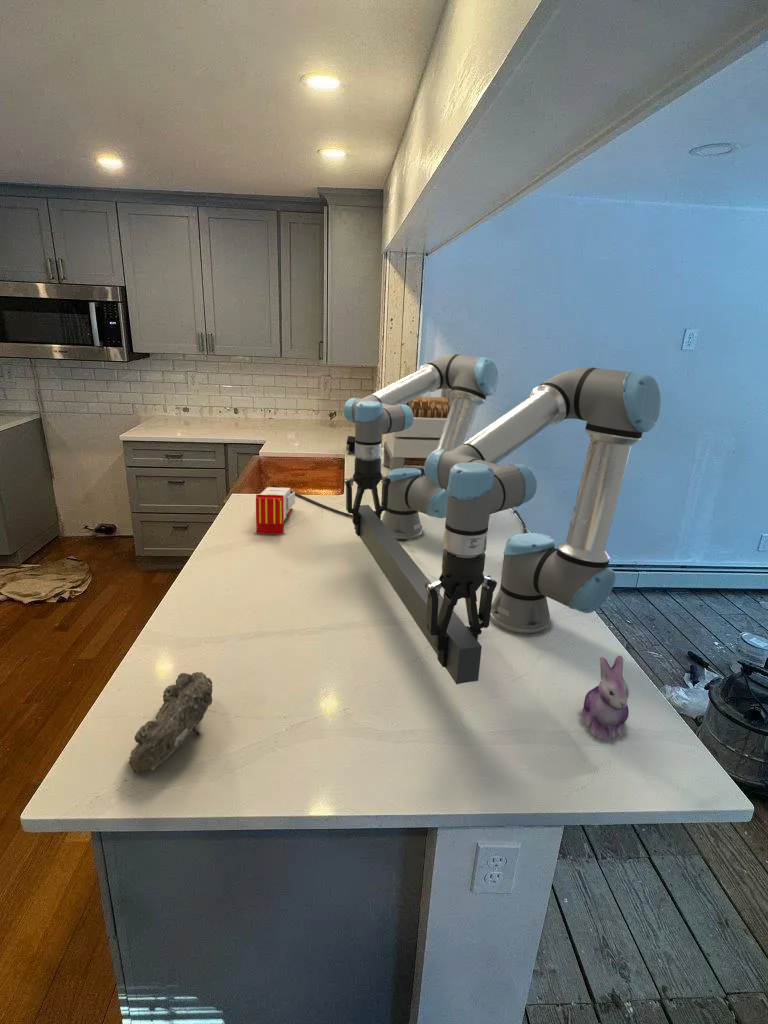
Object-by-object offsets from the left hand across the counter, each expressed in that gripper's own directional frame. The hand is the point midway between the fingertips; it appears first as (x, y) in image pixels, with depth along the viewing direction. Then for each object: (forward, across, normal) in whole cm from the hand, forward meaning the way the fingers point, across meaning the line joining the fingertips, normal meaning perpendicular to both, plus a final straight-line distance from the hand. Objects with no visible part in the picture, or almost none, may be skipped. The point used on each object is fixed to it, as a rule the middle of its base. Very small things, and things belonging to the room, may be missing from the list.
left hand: (366, 533), depth 168 cm
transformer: (+13, +53, +98) cm, 112 cm away
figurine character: (+13, +30, +143) cm, 147 cm away
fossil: (+10, -51, -60) cm, 80 cm away
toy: (+12, -22, +46) cm, 52 cm away
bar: (0, 0, -33) cm, 33 cm away
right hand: (-1, 0, -66) cm, 66 cm away
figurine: (+11, +28, -77) cm, 83 cm away
